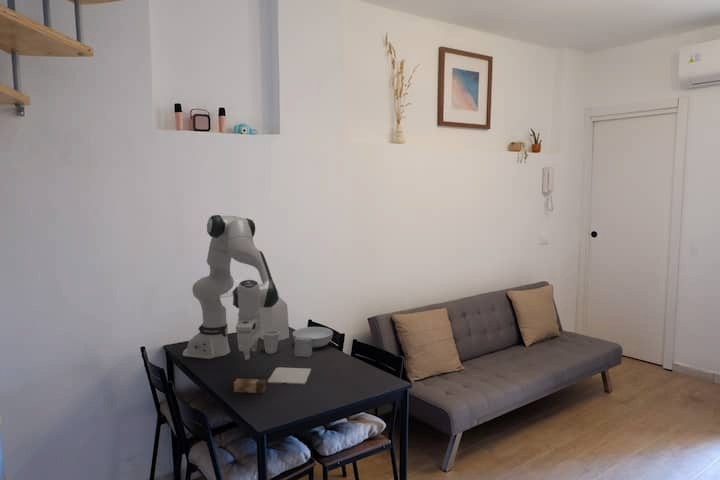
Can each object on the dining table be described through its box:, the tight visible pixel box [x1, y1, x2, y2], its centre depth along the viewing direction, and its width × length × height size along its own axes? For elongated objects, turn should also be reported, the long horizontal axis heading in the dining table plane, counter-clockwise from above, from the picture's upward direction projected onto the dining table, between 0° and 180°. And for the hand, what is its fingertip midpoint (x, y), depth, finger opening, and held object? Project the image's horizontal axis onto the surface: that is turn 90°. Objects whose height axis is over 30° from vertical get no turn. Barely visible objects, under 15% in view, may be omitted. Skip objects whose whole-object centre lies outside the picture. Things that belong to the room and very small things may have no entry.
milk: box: [259, 290, 290, 342], centre depth 265 cm, size 12×12×26 cm
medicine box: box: [293, 337, 313, 358], centre depth 239 cm, size 8×4×9 cm, turn 84°
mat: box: [266, 367, 312, 385], centre depth 214 cm, size 16×16×1 cm
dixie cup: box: [262, 330, 280, 354], centre depth 244 cm, size 8×8×10 cm
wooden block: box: [233, 378, 267, 394], centre depth 199 cm, size 12×4×4 cm, turn 86°
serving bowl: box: [292, 326, 334, 349], centre depth 255 cm, size 21×21×7 cm
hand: (250, 354), depth 197 cm, fingers open, 8 cm apart
